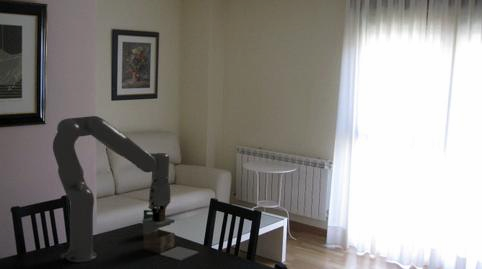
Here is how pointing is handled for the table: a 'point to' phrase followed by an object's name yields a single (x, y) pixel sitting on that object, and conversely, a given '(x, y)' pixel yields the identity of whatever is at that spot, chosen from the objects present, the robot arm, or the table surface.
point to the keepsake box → (159, 241)
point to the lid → (161, 222)
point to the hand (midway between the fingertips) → (158, 219)
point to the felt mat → (179, 253)
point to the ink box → (146, 227)
